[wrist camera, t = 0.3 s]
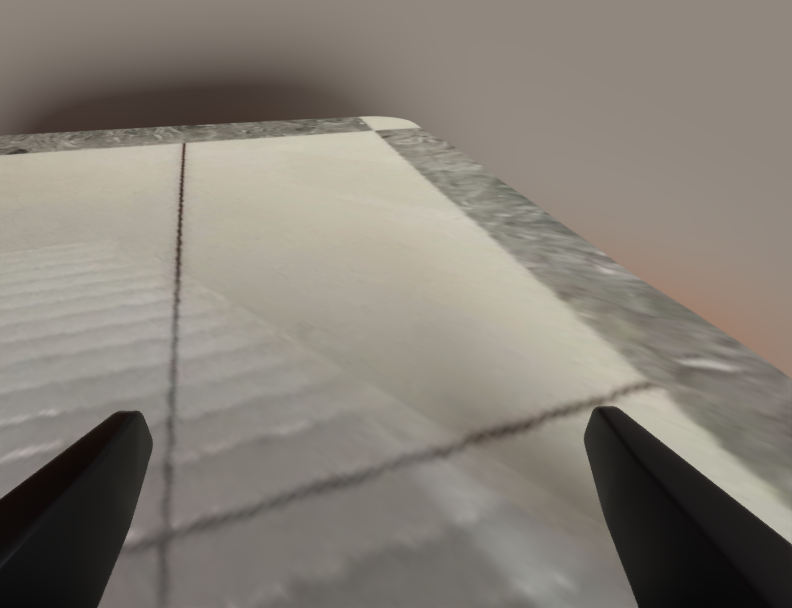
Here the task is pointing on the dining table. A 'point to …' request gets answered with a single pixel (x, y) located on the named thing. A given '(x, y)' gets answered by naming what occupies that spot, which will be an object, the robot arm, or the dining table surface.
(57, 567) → the robot arm
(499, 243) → the dining table surface
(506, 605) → the dining table surface
